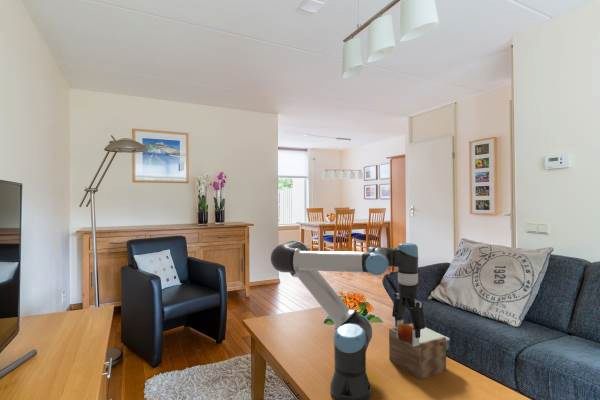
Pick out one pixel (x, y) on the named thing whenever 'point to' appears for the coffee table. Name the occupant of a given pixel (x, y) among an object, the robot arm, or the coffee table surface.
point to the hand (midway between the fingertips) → (407, 340)
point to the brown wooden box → (418, 355)
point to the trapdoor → (431, 336)
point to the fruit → (405, 333)
